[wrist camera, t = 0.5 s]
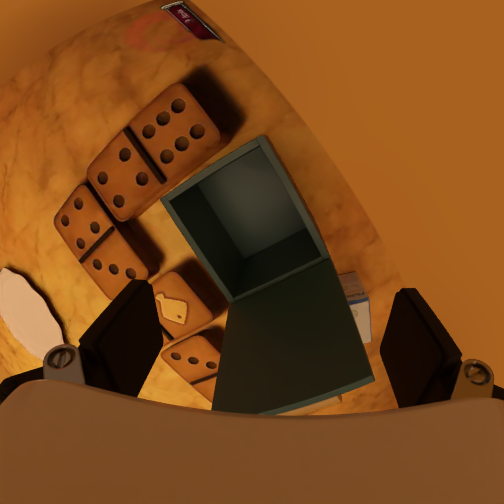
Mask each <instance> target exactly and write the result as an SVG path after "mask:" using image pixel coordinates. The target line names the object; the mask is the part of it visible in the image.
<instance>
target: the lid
mask: <svg viewBox="0 0 504 504" xmlns="http://www.w3.org/2000/svg"><path fill="white" fill-rule="evenodd" d="M374 381H375V378H374V375H373V372H372V369H371V366H370V362H369V359H368V356H367V353H366V350H365V347H364V344H363V341H362V339H361V336H360V333H359V330H358V327H357V324H356V322H355V319H354V316H353V313H352V311H351V308H350V305H349V302H348V300H347V297H346V295H345V292H344V289H343V287H342V284H341V282H340V279H339V277H338V274H337V272H336V269H335V267H334V264H333V262H332V260H331V259H328V260H326V261H324V262H322V263H320V264H318V265H316V266H314V267H312V268H310V269H308V270H306V271H304V272H301V273H299V274H297V275H295V276H293V277H291V278H289V279H287V280H285V281H283V282H280V283H278V284H276V285H274V286H272V287H270V288H268V289H265V290H263V291H261V292H259V293H257V294H254V295H252V296H250V297H248V298H246V299H243V300H241V301H239V302H237V303H235V304H232V305H230V306H229V310H228V316H227V321H226V327H225V333H224V338H223V344H222V350H221V356H220V361H219V367H218V373H217V379H216V385H215V391H214V397H213V402H212V408H211V410H212V411H221V412H231V413H243V414H258V415H284V416H301V415H304V414H308V413H311V412H314V411H318V410H321V409H324V408H327V407H330V406H333V405H336V404H338V403H341V402H342V396H341V394H344V393H346V392H349V391H351V390H354V389H357V388H359V387H362V386H364V385H366V384H369V383H371V382H374Z"/></svg>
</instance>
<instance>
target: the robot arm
mask: <svg viewBox="0 0 504 504" xmlns="http://www.w3.org/2000/svg"><path fill="white" fill-rule="evenodd" d="M79 343H80V346H79V347H78V348H77V347H75V346H74V345H71V344H61V345H58V346H55V347H53V348H52V349H50V350H49V351H48V352H47V353H46V355H45V357H44V360H43V367H40V368H36V369H33V370H30V371H27V372H24V373H21V374H17V375H14V376H11V377H9V378H6V379H4V380H3V381H2V383H1V384H0V504H504V389H503V388H501V387H498V386H496V385H494V374H493V372H492V370H491V368H490V367H489V366H488V365H487V364H485V363H484V362H482V361H480V360H476V359H469V360H465V361H464V362H462V361H461V359H460V358H461V356H462V353H461V352H460V350H459V348H458V347H457V345H456V344H455V342H454V341H453V339H452V338H451V336H450V335H449V333H448V332H447V330H446V329H445V327H444V326H443V325H442V323H441V322H440V320H439V319H438V318H437V316H436V315H435V313H434V312H433V311H432V309H431V308H430V307H429V305H428V304H427V303H426V301H425V300H424V299H423V297H422V296H421V295H420V293H419V292H418V291H417V289H415V288H402V289H401V290H400V291H399V292H397V293H396V294H395V298H394V302H393V305H392V309H391V313H390V316H389V320H388V323H387V327H386V330H385V333H384V336H383V339H382V343H381V346H380V355H381V358H382V361H383V363H384V366H385V369H386V371H387V374H388V377H389V380H390V383H391V386H392V388H393V391H394V394H395V397H396V400H397V403H398V406H399V408H398V409H391V410H383V411H375V412H365V413H354V414H339V415H311V416H284V415H258V414H243V413H231V412H221V411H212V410H204V409H197V408H190V407H183V406H177V405H171V404H166V403H161V402H156V401H151V400H146V399H141V398H137V396H138V394H139V392H140V390H141V388H142V386H143V384H144V382H145V380H146V378H147V376H148V374H149V372H150V370H151V368H152V366H153V364H154V362H155V360H156V358H157V356H158V354H159V352H160V350H161V348H162V346H163V335H162V331H161V326H160V322H159V317H158V312H157V308H156V303H155V297H154V292H153V287H152V285H151V284H149V283H148V281H147V280H138V279H133V280H131V281H130V282H129V283H128V285H127V286H126V287H125V288H124V289H123V290H122V291H121V292H120V293H119V294H118V295H117V297H116V298H115V299H114V300H113V301H112V302H111V303H110V304H109V305H108V307H107V308H106V309H105V310H104V311H103V312H102V313H101V314H100V316H99V317H98V318H97V319H96V320H95V321H94V322H93V324H92V325H91V326H90V327H89V328H88V329H87V331H86V332H85V333H84V334H83V335H82V337H81V338H80V339H79Z"/></svg>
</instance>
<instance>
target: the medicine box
mask: <svg viewBox="0 0 504 504" xmlns="http://www.w3.org/2000/svg"><path fill="white" fill-rule="evenodd" d="M338 277H339V279H340V282H341V284H342V287H343V289H344V292H345V295H346V297H347V300H348V302H349V305H350V308H351V311H352V313H353V316H354V319H355V322H356V324H357V327H358V330H359V333H360V336H361V339H362V341H363V344H365V343H368V342H371V341H372V338H371V319H370V304H369V298H368V296H367V293H366V291H365V289H364V287H363V285H362V283H361V281H360V279H359V277H358V275H357V273H356V272H352V273H347V274H342V275H338Z"/></svg>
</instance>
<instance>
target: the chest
mask: <svg viewBox="0 0 504 504" xmlns="http://www.w3.org/2000/svg"><path fill="white" fill-rule="evenodd" d="M160 201H161V202H162V204H163V205H164V207H165V208H166V210H167V212H168V213H169V215H170V216H171V218H172V219H173V221H174V222H175V224H176V225H177V227H178V228H179V230H180V231H181V233H182V234H183V236H184V238H185V239H186V241H187V242H188V243H189V245H190V246H191V248H192V249H193V251H194V252H195V254H196V255H197V257H198V258H199V260H200V261H201V263H202V264H203V266H204V267H205V269H206V270H207V271H208V273H209V274H210V276H211V277H212V279H213V280H214V281H215V283H216V284H217V286H218V287H219V289H220V290H221V291H222V293H223V294H224V296H225V297H226V298H227V300H228V301H229V303H230V304H231V305H232V304H235V303H237V302H239V301H241V300H243V299H246V298H248V297H250V296H252V295H254V294H257V293H259V292H261V291H263V290H265V289H268V288H270V287H272V286H274V285H276V284H278V283H280V282H283V281H285V280H287V279H289V278H291V277H293V276H295V275H297V274H299V273H301V272H304V271H306V270H308V269H310V268H312V267H314V266H316V265H318V264H320V263H322V262H324V261H326V260H328V259H331V257H330V255H329V252H328V250H327V247H326V245H325V242H324V240H323V237H322V235H321V233H320V230H319V228H318V225H317V224H316V222H315V220H314V218H313V216H312V214H311V212H310V210H309V208H308V206H307V205H306V203H305V201H304V199H303V197H302V195H301V193H300V192H299V190H298V188H297V186H296V184H295V183H294V181H293V179H292V177H291V175H290V174H289V172H288V170H287V168H286V167H285V165H284V163H283V161H282V160H281V158H280V156H279V155H278V153H277V151H276V149H275V148H274V146H273V144H272V143H271V141H270V139H269V138H268V136H266V135H261V136H259V137H257V138H256V139H254V140H252V141H250V142H248V143H247V144H245V145H243V146H241V147H240V148H238V149H236V150H235V151H233V152H231V153H230V154H228V155H226V156H225V157H223V158H221V159H220V160H218V161H216V162H215V163H213V164H212V165H210V166H208V167H207V168H205V169H204V170H202V171H201V172H199V173H197V174H196V175H194V176H193V177H191V178H190V179H188V180H187V181H185V182H184V183H182V184H181V185H179V186H178V187H176V188H175V189H173V190H172V191H170V192H169V193H168V194H166V195H165V196H163V197H162V198H160Z"/></svg>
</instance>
